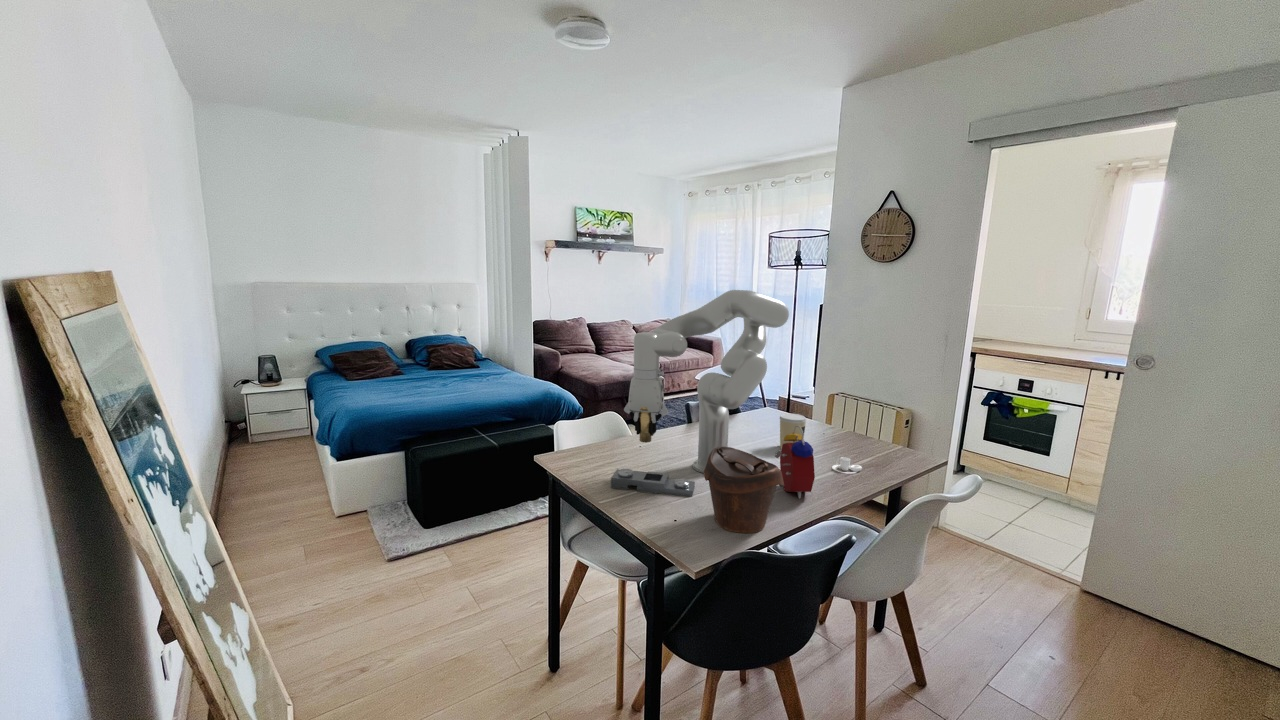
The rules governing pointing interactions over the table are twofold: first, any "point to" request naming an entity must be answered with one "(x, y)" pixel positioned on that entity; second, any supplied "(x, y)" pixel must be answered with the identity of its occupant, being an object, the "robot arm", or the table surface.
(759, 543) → the table surface
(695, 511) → the table surface
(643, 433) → the pin
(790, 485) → the alarm clock
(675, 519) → the table surface
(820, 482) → the table surface
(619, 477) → the grey bolted base plate
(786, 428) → the coffee cup
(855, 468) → the teacup and saucer
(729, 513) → the brown flower pot
